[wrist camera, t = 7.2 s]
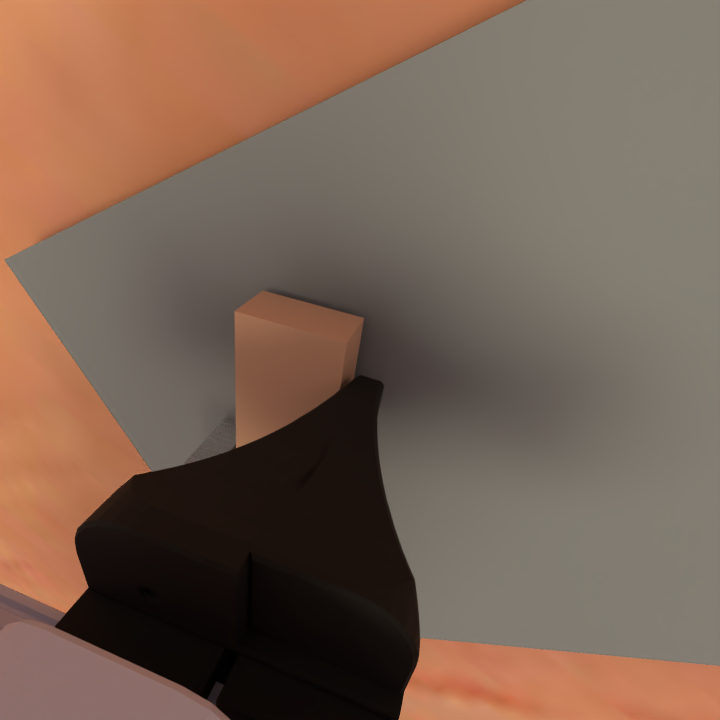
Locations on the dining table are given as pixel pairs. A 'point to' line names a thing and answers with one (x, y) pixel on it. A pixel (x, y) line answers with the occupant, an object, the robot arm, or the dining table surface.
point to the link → (288, 361)
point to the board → (468, 312)
